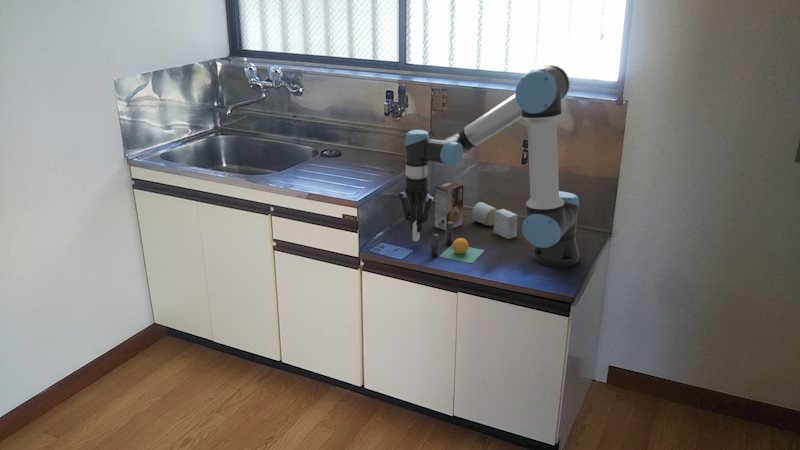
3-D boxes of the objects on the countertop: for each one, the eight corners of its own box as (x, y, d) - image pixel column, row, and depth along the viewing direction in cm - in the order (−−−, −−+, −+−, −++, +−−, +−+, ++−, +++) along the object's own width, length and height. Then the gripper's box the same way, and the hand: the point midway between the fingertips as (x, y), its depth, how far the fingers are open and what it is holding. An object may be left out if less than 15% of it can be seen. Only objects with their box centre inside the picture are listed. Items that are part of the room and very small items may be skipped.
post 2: (454, 242, 242) (454, 221, 239) (451, 245, 240) (451, 224, 237) (447, 241, 243) (447, 220, 241) (444, 244, 241) (444, 223, 238)
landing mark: (484, 250, 236) (484, 250, 236) (472, 263, 226) (472, 263, 226) (452, 244, 241) (452, 244, 241) (438, 256, 231) (438, 256, 231)
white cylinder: (486, 228, 255) (488, 209, 252) (470, 222, 260) (471, 203, 258) (505, 222, 261) (506, 203, 259) (489, 216, 267) (490, 198, 264)
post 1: (439, 255, 232) (440, 234, 229) (436, 258, 230) (436, 236, 227) (432, 254, 233) (433, 232, 230) (429, 257, 231) (429, 235, 228)
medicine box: (516, 237, 247) (518, 214, 244) (507, 239, 245) (509, 217, 242) (502, 230, 254) (503, 208, 250) (493, 232, 251) (494, 210, 248)
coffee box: (450, 220, 263) (451, 180, 257) (463, 224, 258) (464, 184, 253) (434, 226, 257) (434, 185, 251) (446, 231, 253) (447, 189, 247)
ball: (468, 253, 235) (473, 240, 233) (461, 259, 231) (467, 245, 228) (454, 246, 237) (459, 233, 234) (447, 251, 233) (452, 238, 230)
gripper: (438, 175, 232) (437, 239, 241) (404, 170, 237) (404, 233, 246) (429, 181, 226) (428, 246, 234) (394, 176, 231) (394, 240, 240)
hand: (416, 239), depth 240 cm, fingers closed
